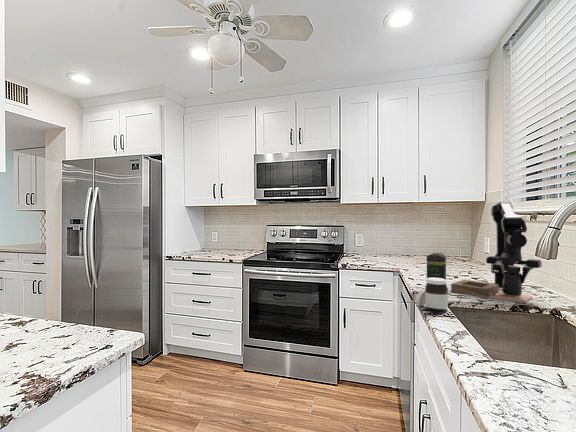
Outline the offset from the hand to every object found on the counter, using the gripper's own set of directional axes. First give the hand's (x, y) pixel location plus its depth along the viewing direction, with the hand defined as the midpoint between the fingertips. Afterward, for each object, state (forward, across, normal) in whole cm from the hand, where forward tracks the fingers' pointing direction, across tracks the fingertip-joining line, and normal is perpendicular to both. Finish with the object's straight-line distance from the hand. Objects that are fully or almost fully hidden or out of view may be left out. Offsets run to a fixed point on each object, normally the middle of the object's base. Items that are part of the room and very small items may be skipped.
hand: (513, 281), depth 137 cm
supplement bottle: (+6, -1, 0) cm, 6 cm away
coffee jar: (+7, -25, -17) cm, 31 cm away
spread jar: (+7, -16, -41) cm, 45 cm away
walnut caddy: (+7, -15, 0) cm, 16 cm away
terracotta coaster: (+7, 0, 0) cm, 7 cm away
